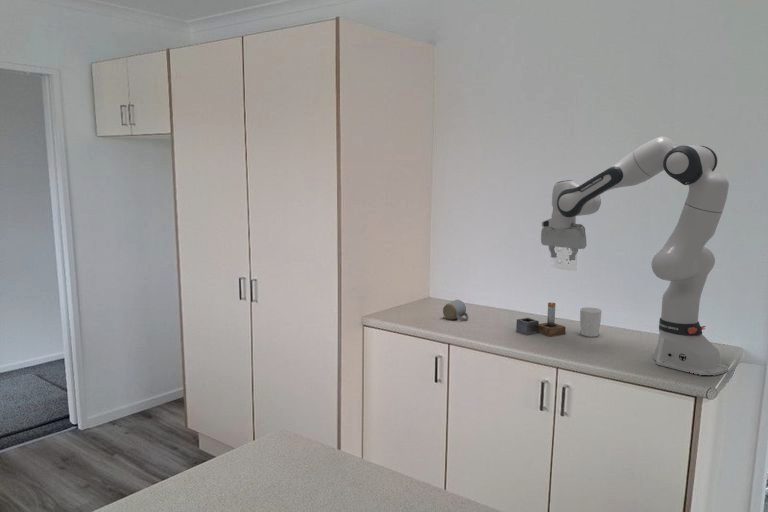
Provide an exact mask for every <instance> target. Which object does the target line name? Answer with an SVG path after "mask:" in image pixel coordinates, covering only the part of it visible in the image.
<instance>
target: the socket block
mask: <svg viewBox="0 0 768 512" xmlns="http://www.w3.org/2000/svg"><path fill="white" fill-rule="evenodd" d="M539 324H540V323H539V320H537V319H534V318H531V317H523V318H518V319H516V325H515V326H516V328H515V330H516V332H517V333H519V334H522V335H525V336H531V335H535V334H539V333H538V326H539Z"/></svg>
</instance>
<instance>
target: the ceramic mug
mask: <svg viewBox="0 0 768 512" xmlns="http://www.w3.org/2000/svg"><path fill="white" fill-rule="evenodd" d="M442 313H443V316H444V317H445V318H446V319H447V320H452V321H453V320H456V319H457V320H458V321H461V322H467V321H468V320H469V318H470V317H469V316H470V315H469V314H468V313H467V307H466V305H465V303H464V302H463V301H462V300H460V299H454V300H452V301H450V302H448V303H446V304H445V305H444V306H443V308H442Z"/></svg>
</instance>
